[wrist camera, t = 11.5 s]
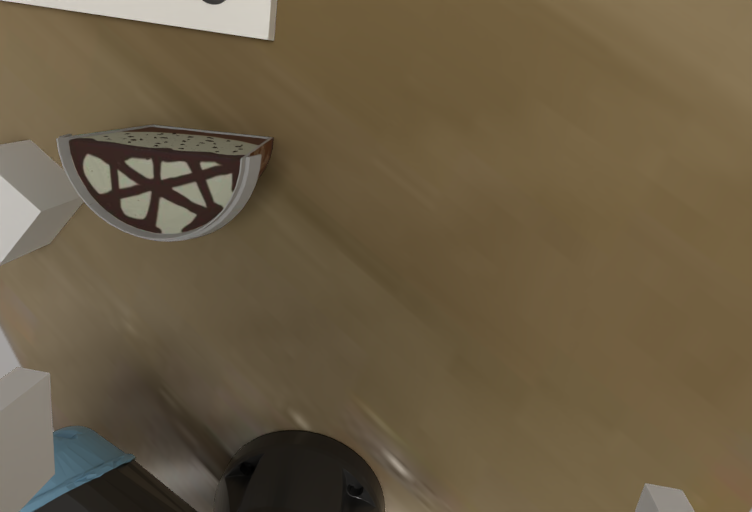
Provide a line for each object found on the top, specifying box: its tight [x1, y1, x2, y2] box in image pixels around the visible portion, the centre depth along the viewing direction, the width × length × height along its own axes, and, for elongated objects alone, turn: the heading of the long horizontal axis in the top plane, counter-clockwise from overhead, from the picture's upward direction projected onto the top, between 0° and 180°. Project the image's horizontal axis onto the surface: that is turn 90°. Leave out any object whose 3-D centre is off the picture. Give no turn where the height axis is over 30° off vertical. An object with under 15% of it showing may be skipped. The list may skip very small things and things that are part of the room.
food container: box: [56, 125, 274, 242], centre depth 39 cm, size 12×6×10 cm, turn 85°
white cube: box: [0, 140, 84, 266], centre depth 43 cm, size 6×6×6 cm
